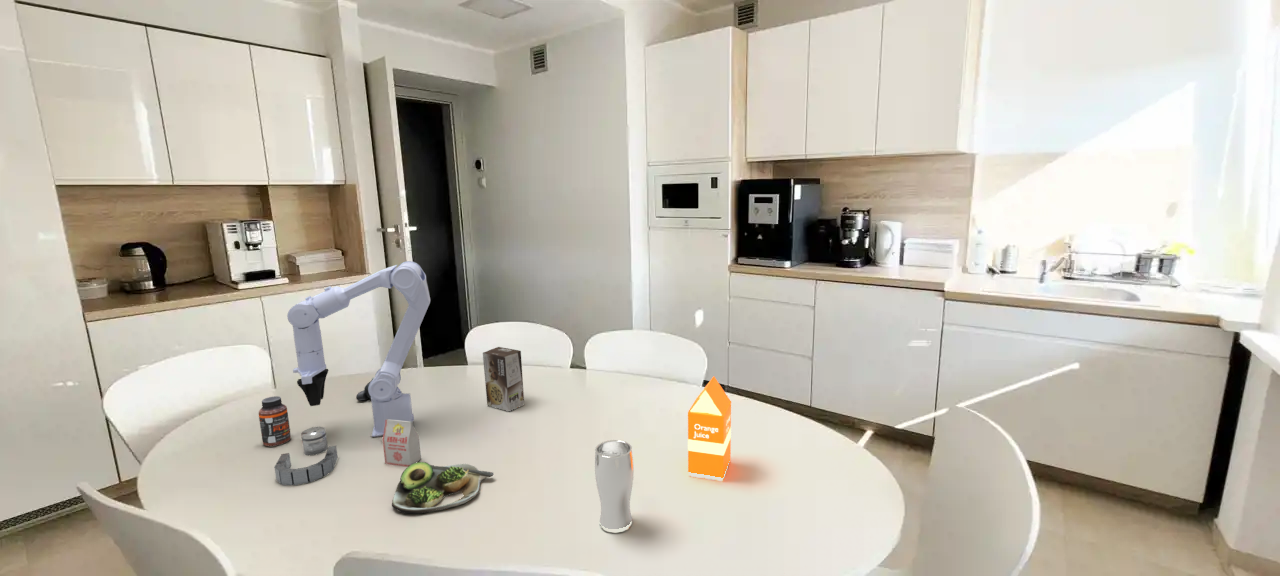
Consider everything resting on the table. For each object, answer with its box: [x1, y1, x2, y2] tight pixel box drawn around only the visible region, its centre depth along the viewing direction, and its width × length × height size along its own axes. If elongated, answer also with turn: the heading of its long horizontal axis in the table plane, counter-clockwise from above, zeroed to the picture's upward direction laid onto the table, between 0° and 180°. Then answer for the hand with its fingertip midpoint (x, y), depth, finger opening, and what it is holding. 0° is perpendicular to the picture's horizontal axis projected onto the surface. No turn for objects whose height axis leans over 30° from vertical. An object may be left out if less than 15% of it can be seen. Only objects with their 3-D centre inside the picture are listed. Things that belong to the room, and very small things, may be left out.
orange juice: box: [687, 376, 732, 478], centre depth 119 cm, size 8×9×20 cm
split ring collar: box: [274, 445, 339, 486], centre depth 123 cm, size 11×10×3 cm
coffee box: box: [482, 346, 525, 412], centre depth 157 cm, size 9×6×16 cm
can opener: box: [355, 377, 374, 401], centre depth 170 cm, size 18×7×6 cm, turn 2°
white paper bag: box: [382, 419, 422, 467], centre depth 126 cm, size 4×7×10 cm, turn 75°
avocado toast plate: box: [391, 461, 494, 515], centre depth 115 cm, size 19×18×5 cm
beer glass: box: [594, 439, 634, 529], centre depth 101 cm, size 7×7×15 cm
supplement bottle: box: [258, 395, 292, 447], centre depth 137 cm, size 6×6×11 cm
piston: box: [300, 426, 329, 456], centre depth 133 cm, size 5×5×5 cm
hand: (316, 402), depth 138 cm, fingers open, 3 cm apart
